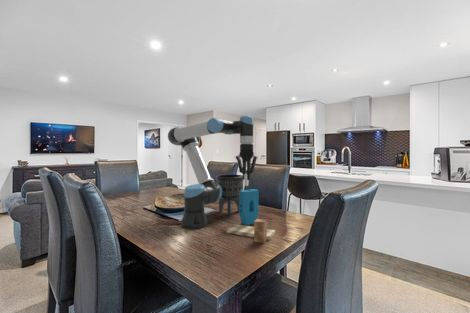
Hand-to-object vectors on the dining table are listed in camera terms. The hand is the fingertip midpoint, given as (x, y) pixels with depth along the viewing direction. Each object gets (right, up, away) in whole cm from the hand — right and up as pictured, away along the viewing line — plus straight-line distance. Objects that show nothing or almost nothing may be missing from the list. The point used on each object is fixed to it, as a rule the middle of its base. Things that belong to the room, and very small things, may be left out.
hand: (246, 185), depth 128 cm
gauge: (+7, -25, -15) cm, 30 cm away
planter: (-10, -24, +33) cm, 42 cm away
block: (+2, -24, +10) cm, 26 cm away
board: (+2, -25, -7) cm, 26 cm away
